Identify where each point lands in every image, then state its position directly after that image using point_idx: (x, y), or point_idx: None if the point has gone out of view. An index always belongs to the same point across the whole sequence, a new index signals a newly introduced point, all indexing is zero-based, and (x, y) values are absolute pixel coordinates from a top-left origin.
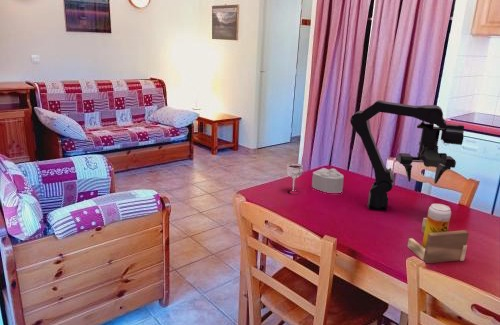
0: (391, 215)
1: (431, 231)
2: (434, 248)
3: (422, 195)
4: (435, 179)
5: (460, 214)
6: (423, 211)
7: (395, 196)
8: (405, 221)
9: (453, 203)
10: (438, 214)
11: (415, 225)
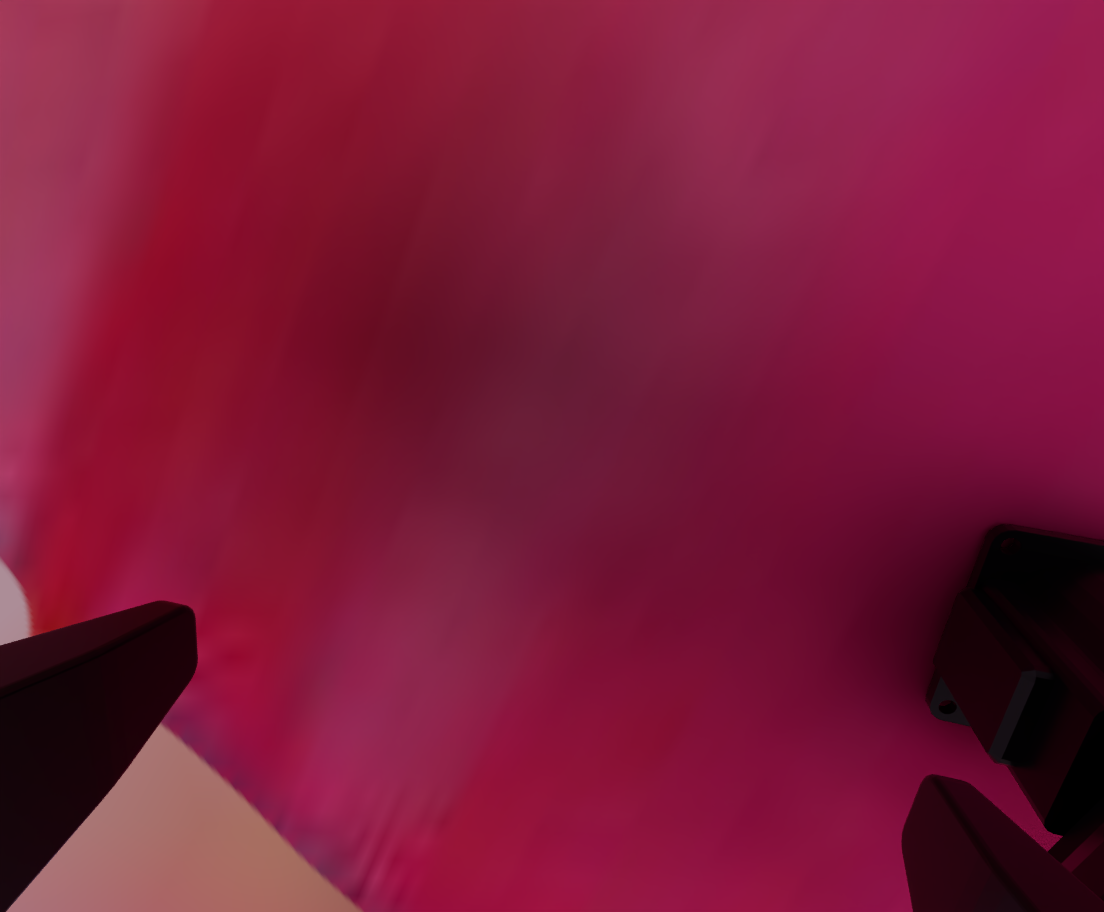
0: (987, 395)
1: None
2: None
3: (354, 873)
4: (101, 706)
5: (125, 444)
6: (494, 516)
7: (650, 882)
8: (878, 207)
9: None
10: None
11: (792, 79)
